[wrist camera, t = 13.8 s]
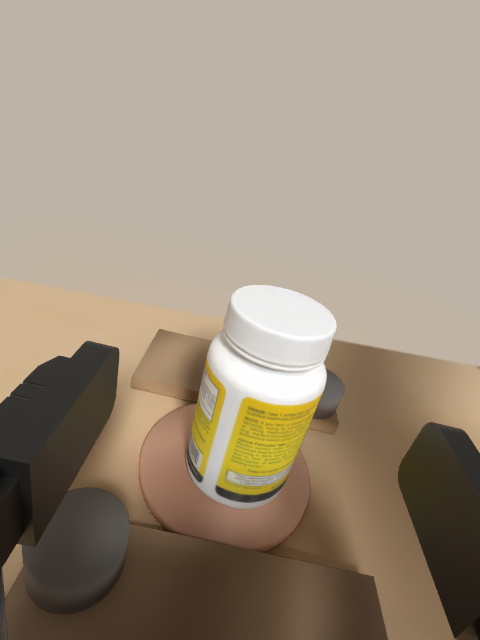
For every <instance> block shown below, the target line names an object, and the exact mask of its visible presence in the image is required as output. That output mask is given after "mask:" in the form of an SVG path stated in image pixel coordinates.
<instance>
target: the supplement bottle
mask: <svg viewBox="0 0 480 640" xmlns="http://www.w3.org/2000/svg"><path fill="white" fill-rule="evenodd" d="M336 327H337V324H336V320H335V318H334V316H333V315H332V314H331V312H330V311H329V310H328V309H327V308H325V307H324V306H323V305H321V304H320V303H318V302H317V301H315V300H313V299H311V298H309V297H307V296H305V295H303V294H300V293H297V292H295V291H292V290H288V289H284V288H280V287H275V286H267V285H251V286H246V287H242V288H240V289H238V290H236V291H235V292H234V293H233V294H232V296H231V298H230V302H229V305H228V309H227V313H226V316H225V319H224V325H223V331H221V332H220V333H219V334H217V335H216V337H215V338H214V339H213V340H212V342H211V344H210V347H209V349H208V353H207V357H206V362H205V367H204V372H203V376H202V381H201V386H200V390H199V395H198V400H197V405H196V409H195V414H194V419H193V423H192V428H191V433H190V438H189V443H188V447H187V454H186V462H187V468H188V472H189V474H190V476H191V478H192V480H193V482H194V483H195V485H196V486H197V487H198V488H199V489H200V490H201V491H202V492H203V493H204V494H205V495H207V496H208V497H209V498H211V499H213V500H214V501H216V502H218V503H220V504H222V505H225V506H228V507H231V508H236V509H252V508H256V507H260V506H263V505H265V504H267V503H268V502H270V501H271V500H273V499H274V498H275V497H276V496H277V495H278V494H279V492H280V491H281V490H282V488H283V486H284V484H285V482H286V480H287V477H288V475H289V472H290V470H291V468H292V465H293V463H294V460H295V458H296V456H297V453H298V451H299V449H300V446H301V444H302V441H303V439H304V436H305V434H306V432H307V429H308V427H309V425H310V422H311V420H312V417H313V415H314V412H315V410H316V408H317V405H318V403H319V400H320V398H321V396H322V394H323V391H324V388H325V384H326V379H327V373H326V368H325V365H324V363H323V362H324V360H325V358H326V356H327V354H328V352H329V349H330V346H331V343H332V340H333V337H334V335H335V331H336Z"/></svg>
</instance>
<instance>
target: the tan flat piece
mask: <svg viewBox="0 0 480 640" xmlns="http://www.w3.org/2000/svg"><path fill="white" fill-rule="evenodd" d="M211 342H212V341H208V340H204V339H200V338H196V337H191V336H187V335H183V334H179V333H175V332H170V331H166V330H162V329H159V330H158V332H157V334H156V336H155V337H154V339H153V341H152V343H151V344H150V346H149V348H148V350H147V351H146V353H145V355H144V357H143V358H142V360H141V362H140V364H139V365H138V367H137V369H136V371H135V372H134V374H133V376H132V383H131V387H132V388H136V389H140V390H145V391H149V392H153V393H158V394H162V395H166V396H171V397H175V398H179V399H184V400H188V401H192V402H197V400H198V395H199V390H200V386H201V381H202V376H203V372H204V367H205V362H206V357H207V353H208V349H209V347H210V344H211ZM326 373H327V379H326V384H325V388H324V391H323V394H322V396H321V398H320V400H319V403H318V405H317V408H316V410H315V412H314V415H313V417H312V420H311V422H310V425H309V427H308V428H310V429H314V430H318V431H323V432H327V433H331V434H334V433H335V431H336V429H337V427H338V425H339V423H338V419H337V414H336V408H337V406H338V404H339V402H340V399H341V397H342V395H343V393H344V384H343V383H342V381H341V380H340V379H339V377H337V376H336V375H335V374H334V373H332V372H331V371H329V370H327V369H326ZM196 405H197V403H196V404H191V405H188V406H184V407H182V408H179V409H177V410H175V411H173V412H171V413H170V414H168V415H166V416H165V417H164V418H163V419H161V420H160V421H159V422H158V423H157V424H156V425H155V426H154V427H153V429H152V430H151V432H150V433H149V434H148V436H147V438H146V440H145V442H144V445H143V448H142V452H141V459H140V466H139V480H140V486H141V491H142V494H143V497H144V500H145V502H146V504H147V506H148V508H149V510H150V511H151V513H152V514H153V516H154V517H155V518H156V520H157V521H158V522H159V523H160V524H161V525H162V526H163V527H164V529H165V530H167V531H168V532H166V531H161V530H156V529H152V528H147V527H143V526H138V525H133V524H130V523H129V516H128V513H127V510H126V508H125V506H124V505H123V503H122V502H121V501H120V500H119V499H118V498H117V497H116V496H115V495H113V494H112V493H110V492H108V491H105V490H102V489H98V488H79V489H74V490H70V491H67V493H66V494H65V496H64V498H63V500H62V501H61V503H60V505H59V507H58V508H57V510H56V512H55V514H54V515H53V517H52V519H51V521H50V522H49V524H48V526H47V528H46V529H45V531H44V533H43V535H42V536H41V538H40V540H39V542H38V543H37V545H36V547H30V546H26V545H22V555H23V565H24V566H23V568H22V570H21V572H20V573H19V575H18V577H17V579H16V580H15V582H14V584H13V586H12V587H11V589H10V591H9V593H8V594H7V596H6V598H5V609H6V622H7V634H8V640H388V638H387V634H386V630H385V625H384V621H383V616H382V612H381V608H380V603H379V599H378V594H377V590H376V586H375V581H374V577H373V576H368V575H364V574H359V573H355V572H350V571H345V570H341V569H336V568H332V567H327V566H322V565H318V564H313V563H308V562H304V561H299V560H295V559H290V558H285V557H281V556H276V555H272V554H267V553H262V552H265V551H267V550H269V549H271V548H273V547H275V546H277V545H278V544H279V543H281V542H282V541H284V540H285V539H286V538H287V537H288V536H289V535H290V534H291V533H292V532H293V531H294V529H295V528H296V526H297V525H298V524H299V522H300V520H301V518H302V516H303V513H304V511H305V509H306V507H307V503H308V500H309V494H310V478H309V473H308V469H307V465H306V462H305V460H304V458H303V456H302V453H301V452H300V450H299V451H298V453H297V456H296V458H295V460H294V463H293V465H292V468H291V470H290V472H289V475H288V477H287V480H286V482H285V484H284V486H283V488H282V490H281V491H280V492H279V494H278V495H277V496H276V497H275V498H274V499H273V500H271V501H270V502H268V503H267V504H265V505H263V506H260V507H256V508H252V509H236V508H231V507H228V506H225V505H222V504H220V503H218V502H216V501H214V500H213V499H211V498H209V497H208V496H207V495H205V494H204V493H203V492H202V491H201V490H200V489H199V488H198V487H197V486H196V485H195V483H194V482H193V480H192V478H191V476H190V474H189V472H188V468H187V462H186V454H187V447H188V443H189V438H190V433H191V428H192V423H193V419H194V414H195V409H196Z"/></svg>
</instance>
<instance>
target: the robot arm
mask: <svg viewBox="0 0 480 640" xmlns="http://www.w3.org/2000/svg"><path fill="white" fill-rule="evenodd" d="M118 365H119V349H118V348H117V347H112V346H108V345H104V344H100V343H95V342H91V341H86V342H85V343H84V344H83V345H82V346H81V347H80V348H79V349H78V350H77V351H76V353H75V354H74V355H73V356H72V357H71V358H67V357H63V356H58V357H55V358H53V359H51V360H49V361H47V362H45V363H43V364H41V365H39V366H38V367H37V368H36V369H35V370H34V371H33V372H32V373H31V374H30V375H29V376H28V377H27V378H26V379H25V380H24V381H23V384H20V385H19V386H18V387H17V388H16V389H15V390H14V391H13V392H12V393H11V395H10V397H7V398H6V399H5V400H4V401H3V402H2V403H1V404H0V640H8V634H7V622H6V609H5V597H4V584H3V572H2V567H3V565H4V564H5V562H6V560H7V559H8V557H9V555H10V554H11V552H12V551H13V549H14V547H15V546H16V544H21V545H26V546H30V547H36V545H37V543H38V542H39V540H40V538H41V536H42V535H43V533H44V531H45V529H46V528H47V526H48V524H49V522H50V521H51V519H52V517H53V515H54V514H55V512H56V510H57V508H58V507H59V505H60V503H61V501H62V500H63V498H64V496H65V494H66V493H67V491H68V489H69V487H70V486H71V484H72V482H73V480H74V479H75V477H76V475H77V473H78V472H79V470H80V468H81V466H82V465H83V463H84V461H85V459H86V458H87V456H88V454H89V452H90V451H91V449H92V447H93V445H94V444H95V442H96V440H97V438H98V437H99V435H100V433H101V431H102V430H103V428H104V426H105V424H106V423H107V421H108V419H109V417H110V415H111V412H112V409H113V406H114V402H115V398H116V388H117V376H118ZM398 481H399V486H400V490H401V492H402V495H403V498H404V501H405V503H406V506H407V509H408V512H409V514H410V517H411V520H412V523H413V525H414V528H415V531H416V534H417V536H418V539H419V542H420V545H421V547H422V550H423V553H424V556H425V558H426V561H427V564H428V567H429V569H430V572H431V575H432V578H433V580H434V583H435V586H436V589H437V591H438V594H439V597H440V600H441V602H442V605H443V608H444V611H445V613H446V616H447V619H448V622H449V624H450V627H451V630H452V633H453V635H454V638H455V639H458V640H480V453H479V452H478V450H477V449H476V447H475V446H474V444H473V443H472V441H471V439H470V438H469V436H468V435H467V434H466V432H465V431H463V430H462V429H459V428H454V427H450V426H446V425H442V424H437V423H433V422H430V423H427V424H426V425H425V426H424V427H423V428H422V430H421V431H420V433H419V435H418V436H417V438H416V439H415V441H414V443H413V444H412V446H411V447H410V449H409V450H408V452H407V454H406V455H405V457H404V458H403V460H402V462H401V464H400V467H399V472H398Z"/></svg>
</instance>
